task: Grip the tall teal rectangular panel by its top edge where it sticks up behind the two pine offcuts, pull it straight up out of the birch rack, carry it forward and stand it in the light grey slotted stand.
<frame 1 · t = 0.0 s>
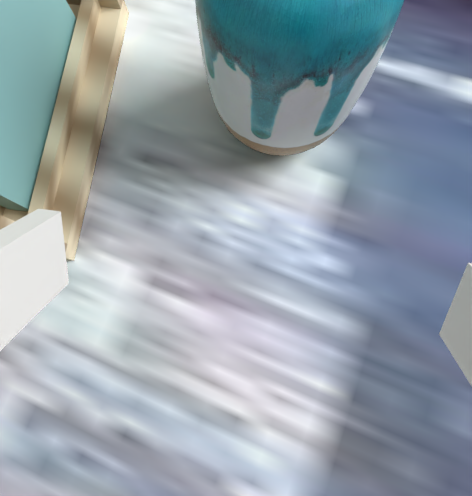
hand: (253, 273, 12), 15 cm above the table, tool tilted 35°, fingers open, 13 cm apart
vase: (278, 115, 30), on the table
teal rectangular panel: (46, 113, 29), point 1 cm above the table, touching rack
rack: (15, 118, 31), on the table
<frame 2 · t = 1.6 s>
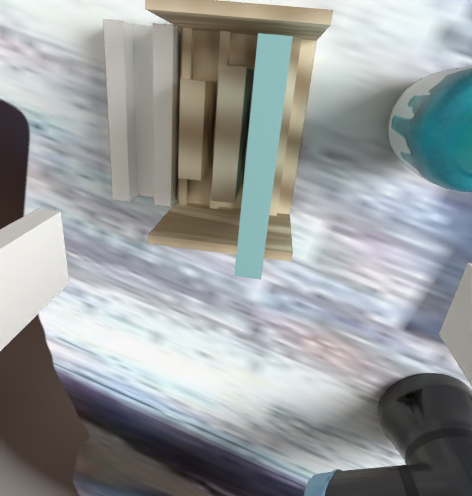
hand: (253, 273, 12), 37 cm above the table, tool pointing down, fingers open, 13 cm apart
offcut short: (203, 125, 45), point 1 cm above the table, touching rack
offcut tall: (236, 128, 45), point 1 cm above the table, touching rack
vase: (424, 119, 44), on the table
teal rectangular panel: (268, 132, 45), point 1 cm above the table, touching rack
stand: (150, 118, 47), on the table
rack: (241, 127, 46), on the table
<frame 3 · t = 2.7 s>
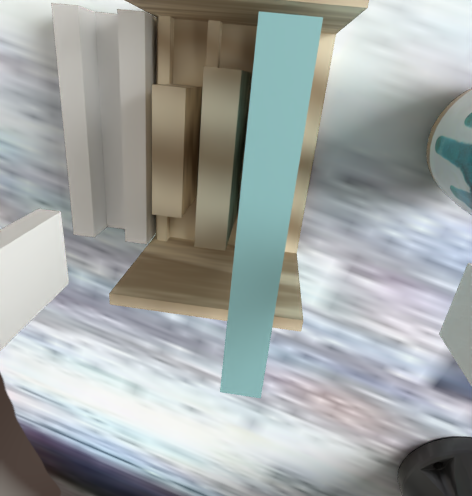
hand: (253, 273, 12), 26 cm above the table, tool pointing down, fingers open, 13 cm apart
offcut short: (187, 142, 35), point 1 cm above the table, touching rack
offcut tall: (230, 147, 35), point 1 cm above the table, touching rack
vase: (471, 138, 34), on the table
teal rectangular panel: (271, 152, 35), point 1 cm above the table, touching rack
stand: (121, 132, 37), on the table
rack: (235, 145, 36), on the table
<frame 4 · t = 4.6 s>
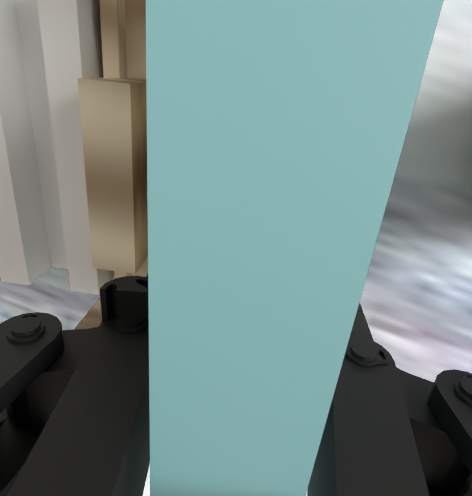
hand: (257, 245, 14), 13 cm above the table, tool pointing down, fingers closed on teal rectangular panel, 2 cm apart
offcut short: (151, 159, 26), point 1 cm above the table, touching rack
teal rectangular panel: (266, 172, 25), point 1 cm above the table, touching gripper, rack
stand: (63, 144, 27), on the table
rack: (218, 162, 27), on the table
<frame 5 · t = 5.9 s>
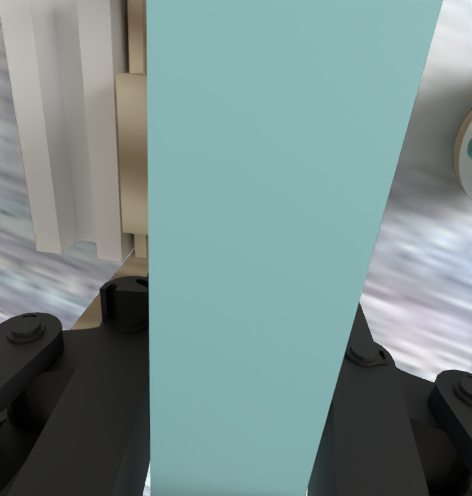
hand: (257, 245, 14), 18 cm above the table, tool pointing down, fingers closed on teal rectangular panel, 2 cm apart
offcut short: (168, 143, 30), point 1 cm above the table, touching rack
teal rectangular panel: (266, 172, 25), point 6 cm above the table, touching gripper
stand: (91, 131, 31), on the table
rack: (225, 146, 31), on the table
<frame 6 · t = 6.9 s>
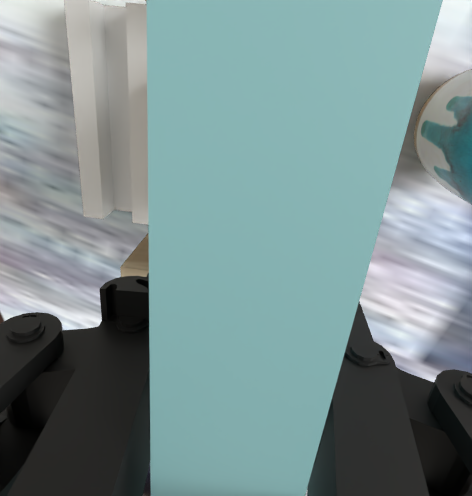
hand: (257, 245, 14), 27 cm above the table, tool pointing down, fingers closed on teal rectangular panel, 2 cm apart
vase: (456, 123, 36), on the table
teal rectangular panel: (266, 172, 25), point 15 cm above the table, touching gripper
stand: (128, 119, 39), on the table
rack: (236, 131, 39), on the table
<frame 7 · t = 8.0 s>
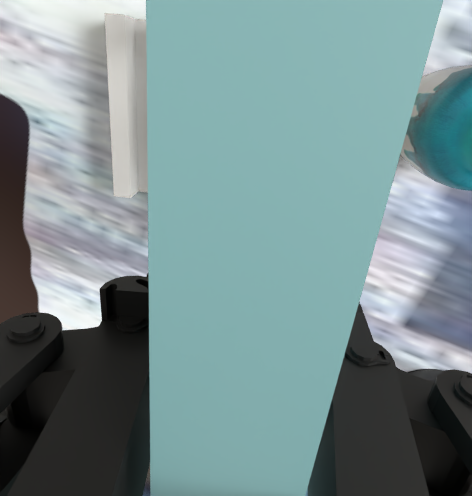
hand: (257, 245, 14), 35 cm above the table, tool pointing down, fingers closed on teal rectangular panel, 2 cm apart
vase: (426, 117, 44), on the table
teal rectangular panel: (266, 172, 25), point 23 cm above the table, touching gripper
stand: (152, 113, 47), on the table
when the fingers open (14 cm above the table, at t = 12.8 s): teal rectangular panel stays where it is, resting on stand.
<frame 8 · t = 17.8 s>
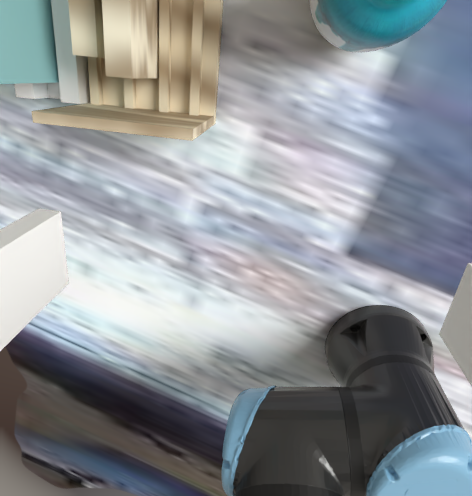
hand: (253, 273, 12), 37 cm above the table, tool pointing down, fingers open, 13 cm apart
offcut short: (111, 7, 40), point 1 cm above the table, touching rack
offcut tall: (148, 11, 40), point 1 cm above the table, touching rack
teal rectangular panel: (52, 2, 41), point 1 cm above the table, touching stand
stand: (56, 4, 42), on the table
rack: (155, 13, 42), on the table
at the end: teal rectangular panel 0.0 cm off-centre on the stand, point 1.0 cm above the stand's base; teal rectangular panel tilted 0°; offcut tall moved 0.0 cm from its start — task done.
